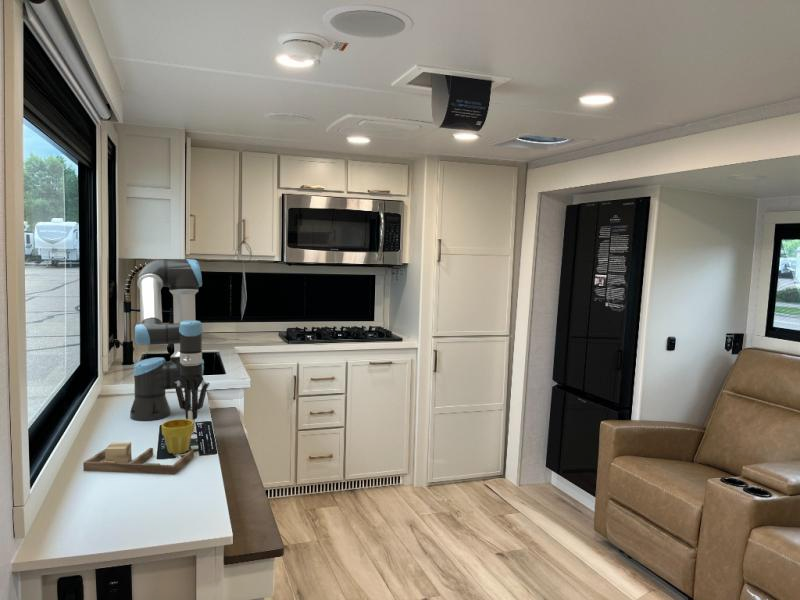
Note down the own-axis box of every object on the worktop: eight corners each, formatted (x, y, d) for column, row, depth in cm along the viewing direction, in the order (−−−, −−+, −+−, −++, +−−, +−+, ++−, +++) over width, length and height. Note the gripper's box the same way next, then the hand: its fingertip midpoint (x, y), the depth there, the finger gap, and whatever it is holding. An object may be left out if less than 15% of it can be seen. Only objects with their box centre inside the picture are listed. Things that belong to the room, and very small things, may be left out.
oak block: (112, 460, 192) (111, 442, 191) (131, 459, 192) (131, 442, 192) (105, 467, 186) (105, 448, 185) (125, 466, 186) (125, 448, 186)
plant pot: (183, 457, 195) (183, 429, 194) (155, 454, 197) (155, 426, 196) (200, 447, 205) (199, 420, 204) (173, 444, 207) (173, 417, 206)
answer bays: (109, 453, 197) (109, 444, 197) (193, 456, 196) (193, 448, 196) (83, 470, 182) (83, 461, 182) (174, 474, 181) (174, 465, 181)
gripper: (168, 365, 207) (169, 430, 209) (205, 366, 206) (205, 431, 208) (177, 361, 214) (178, 423, 216) (212, 362, 214) (213, 425, 216)
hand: (191, 427), depth 212 cm, fingers closed
